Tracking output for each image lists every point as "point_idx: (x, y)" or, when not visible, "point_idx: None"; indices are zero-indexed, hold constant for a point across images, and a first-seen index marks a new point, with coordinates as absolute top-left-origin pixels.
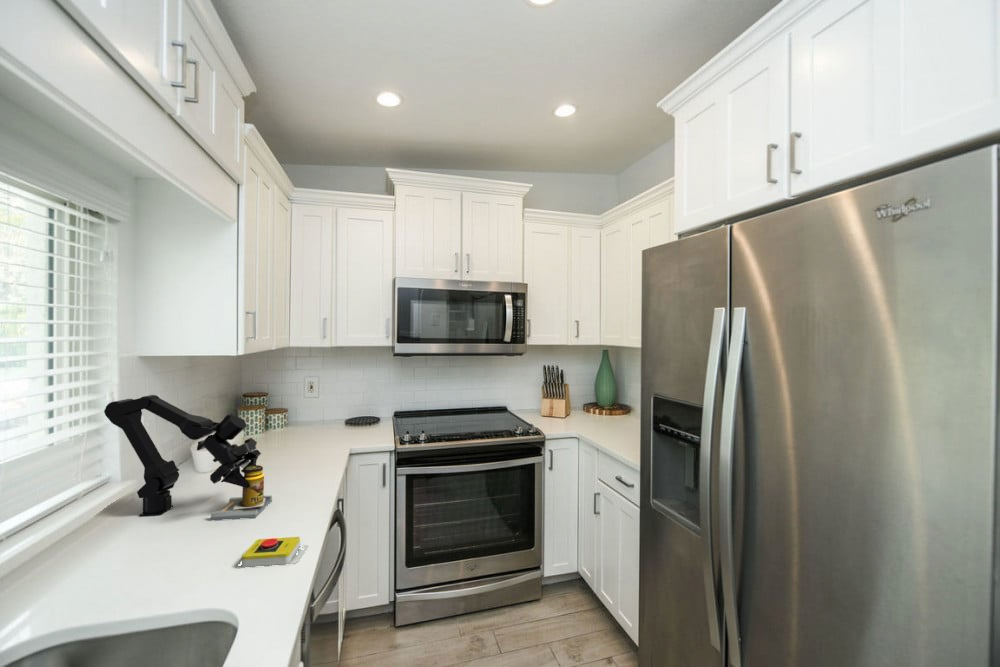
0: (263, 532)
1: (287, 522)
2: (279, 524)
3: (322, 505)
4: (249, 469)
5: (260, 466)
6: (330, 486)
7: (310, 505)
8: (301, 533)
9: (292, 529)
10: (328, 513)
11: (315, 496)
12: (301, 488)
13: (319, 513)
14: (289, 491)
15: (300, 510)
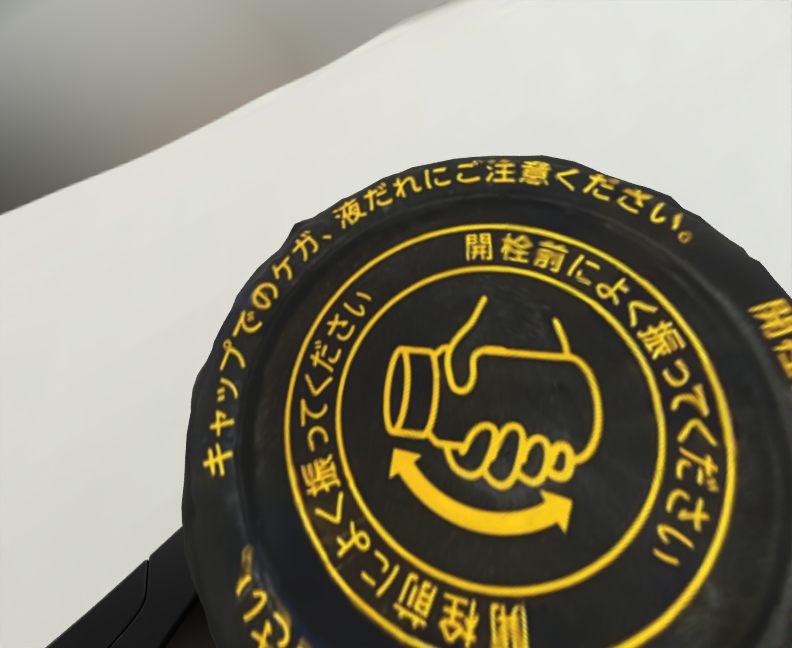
0: (724, 162)
1: (572, 126)
2: (607, 147)
3: (339, 94)
4: (771, 421)
5: (330, 251)
6: (65, 198)
7: (343, 146)
8: (659, 7)
9: (637, 60)
10: (430, 24)
11: (214, 192)
12: (64, 354)
13: (437, 56)
14: (108, 406)
15: (414, 155)
